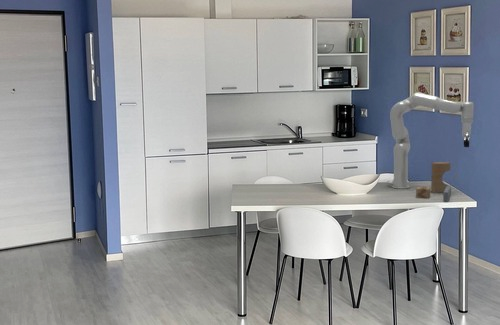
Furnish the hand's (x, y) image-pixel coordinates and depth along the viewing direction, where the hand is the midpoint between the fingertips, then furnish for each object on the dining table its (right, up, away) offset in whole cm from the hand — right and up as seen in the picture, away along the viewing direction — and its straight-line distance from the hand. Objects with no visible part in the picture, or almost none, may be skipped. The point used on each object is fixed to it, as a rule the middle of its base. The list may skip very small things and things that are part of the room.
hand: (466, 146), depth 464 cm
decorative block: (-17, -31, +1) cm, 35 cm away
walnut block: (-32, -33, -13) cm, 48 cm away
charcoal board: (-18, -34, -19) cm, 43 cm away
